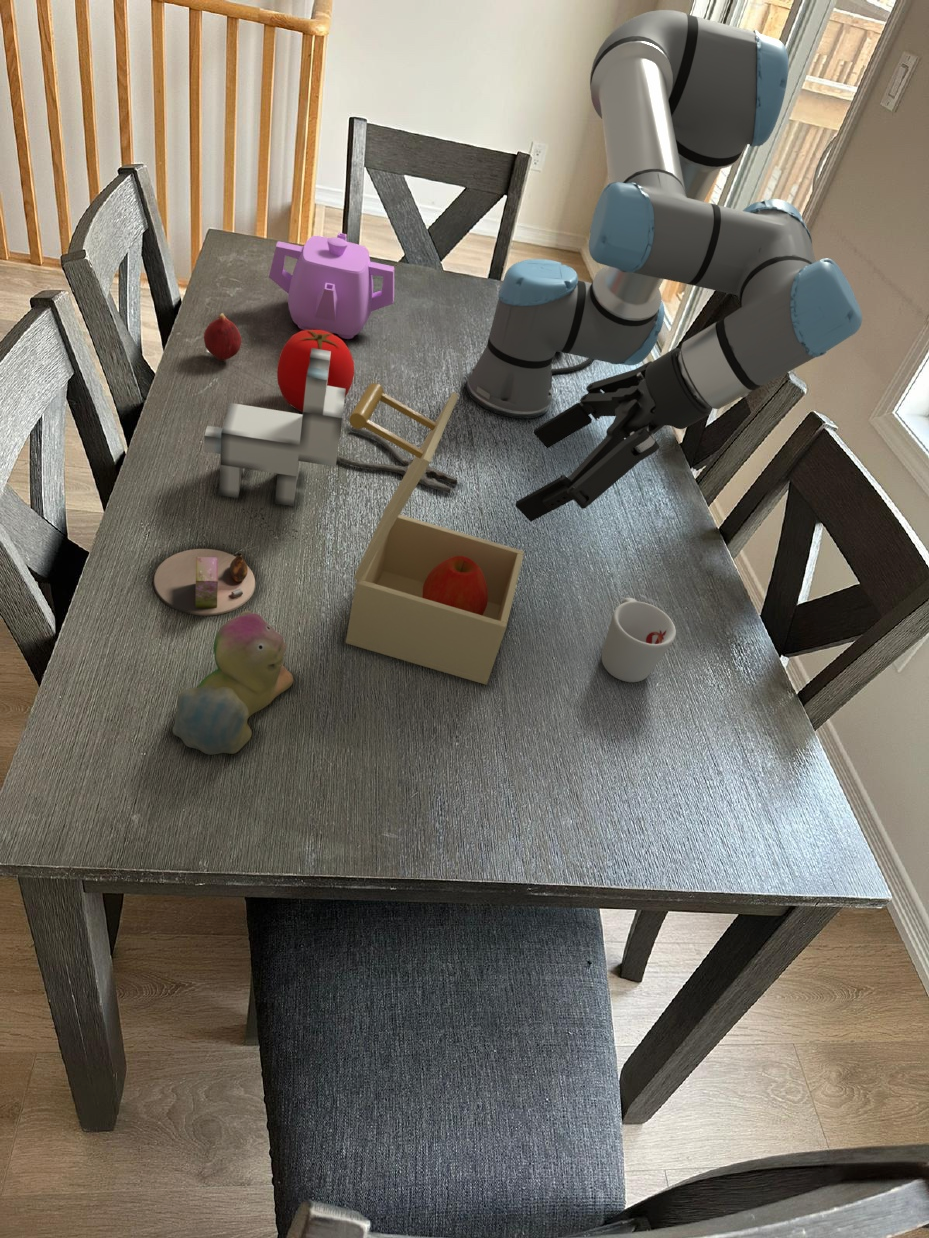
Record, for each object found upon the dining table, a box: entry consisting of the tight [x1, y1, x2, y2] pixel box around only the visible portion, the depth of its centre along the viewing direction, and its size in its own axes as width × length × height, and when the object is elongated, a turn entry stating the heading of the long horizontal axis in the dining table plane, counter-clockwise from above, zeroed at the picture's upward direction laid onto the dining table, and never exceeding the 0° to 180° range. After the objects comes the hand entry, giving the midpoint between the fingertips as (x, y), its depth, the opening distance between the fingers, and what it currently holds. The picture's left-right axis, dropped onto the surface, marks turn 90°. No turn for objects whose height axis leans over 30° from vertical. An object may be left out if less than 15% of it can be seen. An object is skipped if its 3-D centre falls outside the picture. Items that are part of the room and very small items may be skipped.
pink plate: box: [152, 548, 256, 617], centre depth 107 cm, size 12×12×4 cm
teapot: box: [268, 232, 395, 340], centre depth 159 cm, size 19×18×15 cm
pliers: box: [337, 426, 458, 494], centre depth 136 cm, size 10×1×20 cm
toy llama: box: [203, 348, 346, 507], centre depth 118 cm, size 8×18×20 cm, turn 93°
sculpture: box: [172, 610, 294, 755], centre depth 92 cm, size 15×8×10 cm, turn 164°
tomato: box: [276, 329, 355, 413], centre depth 138 cm, size 12×12×13 cm
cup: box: [601, 597, 677, 683], centre depth 112 cm, size 11×8×8 cm
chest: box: [345, 513, 525, 686], centre depth 108 cm, size 18×15×10 cm
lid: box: [348, 382, 460, 581], centre depth 98 cm, size 18×15×9 cm
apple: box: [422, 556, 488, 615], centre depth 108 cm, size 8×8×11 cm
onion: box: [203, 312, 242, 362], centre depth 144 cm, size 6×6×8 cm
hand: (532, 474), depth 101 cm, fingers open, 13 cm apart
